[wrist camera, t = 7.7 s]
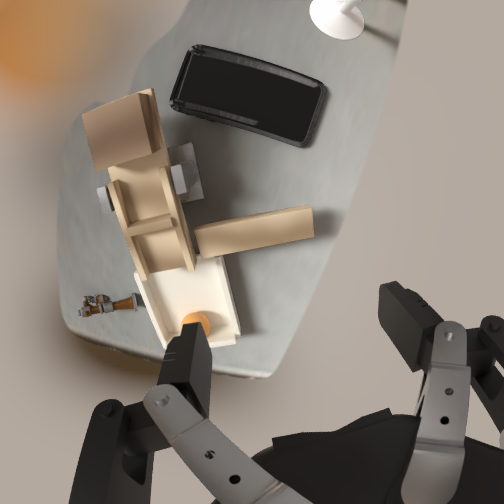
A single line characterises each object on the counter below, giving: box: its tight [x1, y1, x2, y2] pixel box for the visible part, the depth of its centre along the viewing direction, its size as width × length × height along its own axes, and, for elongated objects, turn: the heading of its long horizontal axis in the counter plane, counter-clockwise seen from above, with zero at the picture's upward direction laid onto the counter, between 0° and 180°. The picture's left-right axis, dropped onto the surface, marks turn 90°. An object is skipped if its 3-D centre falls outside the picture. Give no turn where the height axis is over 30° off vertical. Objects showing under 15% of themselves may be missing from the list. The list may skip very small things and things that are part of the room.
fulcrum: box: [97, 142, 204, 214], centre depth 26 cm, size 6×9×7 cm, turn 100°
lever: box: [82, 88, 314, 281], centre depth 23 cm, size 17×17×4 cm
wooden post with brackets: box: [77, 293, 138, 318], centre depth 32 cm, size 2×8×4 cm, turn 89°
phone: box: [169, 45, 326, 147], centre depth 26 cm, size 8×1×15 cm
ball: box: [181, 312, 210, 337], centre depth 33 cm, size 4×4×4 cm
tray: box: [134, 254, 241, 350], centre depth 33 cm, size 11×10×4 cm
